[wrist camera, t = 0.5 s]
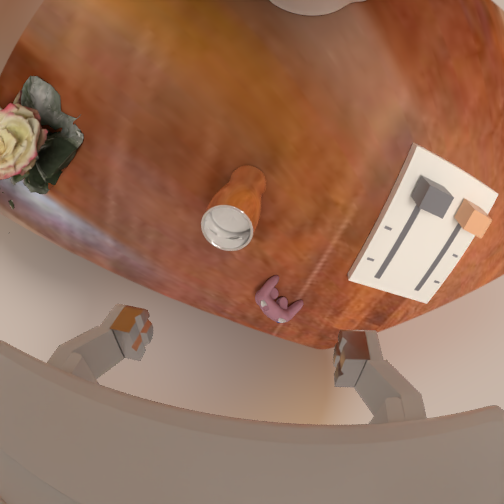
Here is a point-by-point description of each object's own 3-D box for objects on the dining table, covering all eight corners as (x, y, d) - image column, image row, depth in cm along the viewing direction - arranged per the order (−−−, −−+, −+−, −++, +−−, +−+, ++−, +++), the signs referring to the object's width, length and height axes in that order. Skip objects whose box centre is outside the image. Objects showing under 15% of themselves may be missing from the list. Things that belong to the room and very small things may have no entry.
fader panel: (413, 142, 38) (417, 145, 36) (493, 189, 38) (498, 194, 36) (347, 273, 55) (348, 280, 53) (424, 297, 55) (427, 303, 53)
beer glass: (276, 193, 47) (264, 243, 35) (239, 206, 50) (216, 258, 38) (258, 156, 44) (238, 195, 32) (220, 171, 47) (189, 214, 35)
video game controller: (263, 274, 60) (247, 302, 57) (277, 272, 57) (261, 301, 53) (292, 302, 64) (278, 329, 60) (306, 302, 60) (293, 330, 57)
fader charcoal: (421, 175, 38) (430, 185, 35) (444, 186, 38) (454, 197, 35) (410, 196, 40) (418, 207, 37) (433, 206, 41) (442, 218, 37)
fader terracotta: (464, 198, 38) (474, 209, 35) (482, 208, 38) (492, 220, 35) (454, 217, 41) (463, 229, 37) (471, 226, 41) (481, 238, 37)
